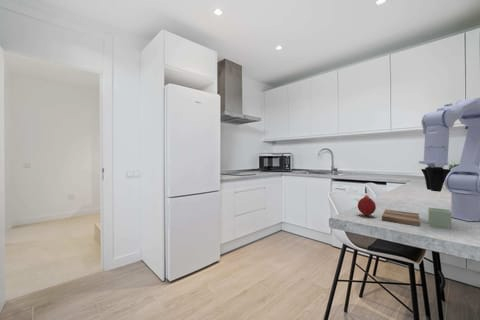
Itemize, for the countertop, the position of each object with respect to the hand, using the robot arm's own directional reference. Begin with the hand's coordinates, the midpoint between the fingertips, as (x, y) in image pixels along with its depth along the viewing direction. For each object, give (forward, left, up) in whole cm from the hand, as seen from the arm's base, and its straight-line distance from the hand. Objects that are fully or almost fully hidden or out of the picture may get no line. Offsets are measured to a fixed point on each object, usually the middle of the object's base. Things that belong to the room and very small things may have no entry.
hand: (433, 190), depth 69 cm
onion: (+14, -13, -11) cm, 22 cm away
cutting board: (+4, -8, -11) cm, 14 cm away
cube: (-2, 0, -11) cm, 11 cm away
